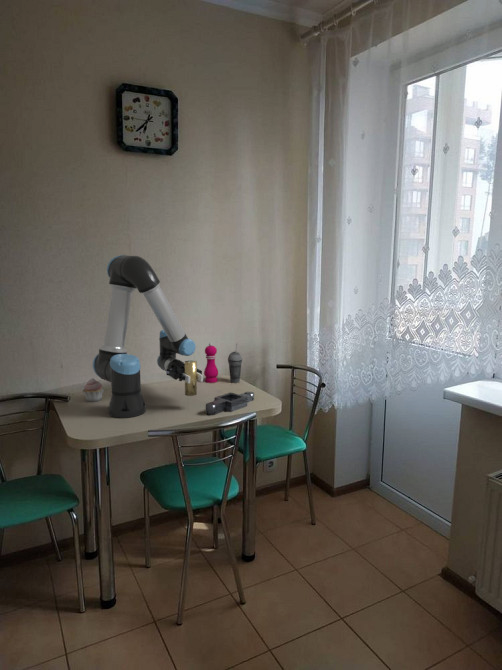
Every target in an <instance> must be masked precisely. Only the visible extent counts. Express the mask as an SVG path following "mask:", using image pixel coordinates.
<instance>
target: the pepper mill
mask: <svg viewBox="0 0 502 670" xmlns="http://www.w3.org/2000/svg"><path fill="white" fill-rule="evenodd" d="M217 352H218V351H217V347H216V346H215V345H213V343H212V342H209V343H208V346H206V347H205V349H204V354H205V358H206V365H205V368H204V370H203V371H204V372H203V376H204V377H205V378H204V381H205V383H208V384H214V383H217V382H218V375H219V370H218V367H217V365H216V358H217V357H216V356H217V355H216V354H217Z"/></svg>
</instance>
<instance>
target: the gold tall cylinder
mask: <svg viewBox="0 0 502 670" xmlns="http://www.w3.org/2000/svg"><path fill="white" fill-rule="evenodd" d="M184 364H185V374H186V375H188V376H190V383H187V382H185V381H184V395H185V396H187V397H193V396H197V394H198V393H197V392H198V390H197V389H198V388H197V387H198V385H197V384H198V383H197V382H198V380H197V369H198V361H197V360H185V361H184Z"/></svg>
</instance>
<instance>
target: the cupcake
mask: <svg viewBox="0 0 502 670" xmlns="http://www.w3.org/2000/svg"><path fill="white" fill-rule="evenodd" d="M104 390H105V388H104V387H103V384H102V383H101V381H98V380H96V379H95V378H94V377H93V378H90V379H89V380H88V381H87V383H86V384H85V385H84V389H82V392H83V394H84V396H85V400H86V401H87V402H89V403H94V402H99V401H101V400H102V399H103V392H105V391H104Z"/></svg>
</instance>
